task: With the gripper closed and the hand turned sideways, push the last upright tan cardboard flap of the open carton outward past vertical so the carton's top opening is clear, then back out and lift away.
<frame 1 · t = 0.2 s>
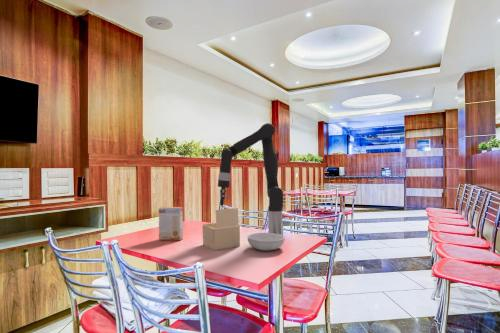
hand: (221, 204, 182), 22 cm above the table, tool pointing down, fingers open, 8 cm apart
carton: (221, 245, 167), on the table
cracker box: (171, 240, 182), on the table
serving bowl: (266, 249, 160), on the table
carton flap: (227, 217, 160), point 17 cm above the table, hinge at 85.0°
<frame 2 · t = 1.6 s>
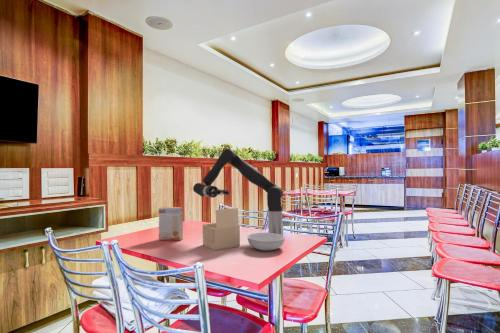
hand: (222, 193, 174), 30 cm above the table, tool horizontal, fingers open, 8 cm apart
nothing on the table moved.
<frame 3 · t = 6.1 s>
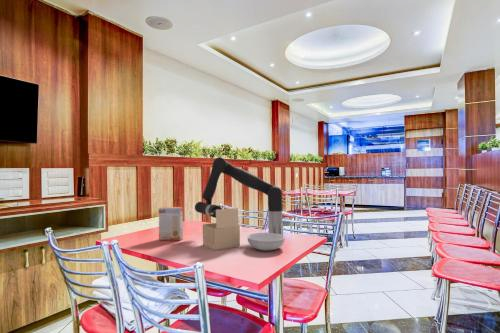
hand: (227, 214, 161), 19 cm above the table, tool horizontal, fingers closed
carton flap: (227, 217, 160), point 17 cm above the table, hinge at 85.0°, touching gripper
everything else where it was.
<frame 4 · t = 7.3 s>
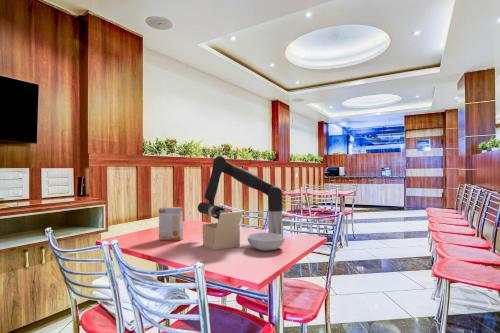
hand: (230, 216, 158), 19 cm above the table, tool horizontal, fingers closed
carton flap: (229, 219, 158), point 17 cm above the table, hinge at 117.8°, touching gripper
everything else where it was.
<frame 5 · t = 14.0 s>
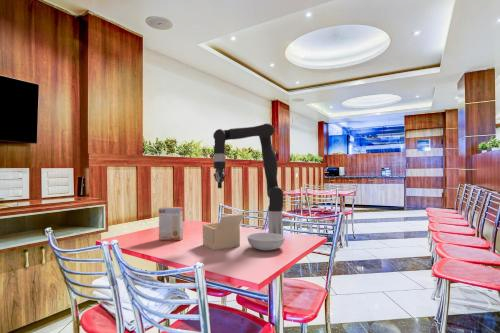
hand: (219, 188, 180), 33 cm above the table, tool pointing down, fingers closed
carton flap: (230, 221, 157), point 16 cm above the table, hinge at 131.5°
everything else where it was.
at the end: carton flap at +132° (first picture: +85°) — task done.
